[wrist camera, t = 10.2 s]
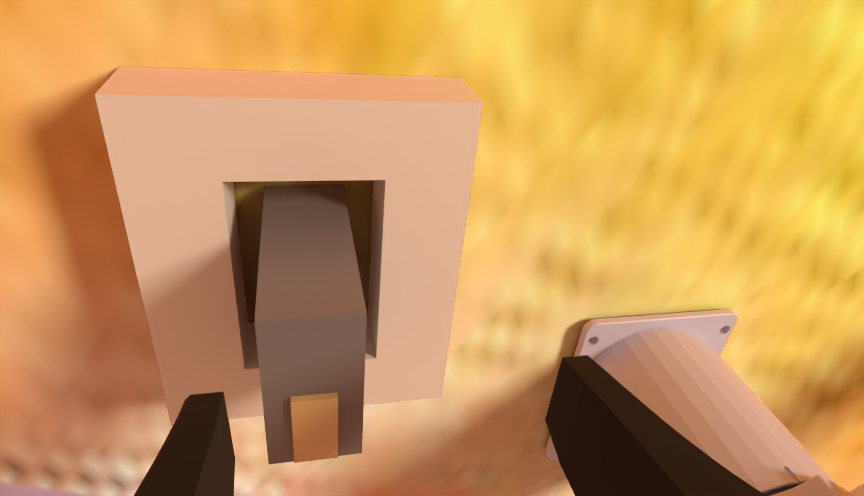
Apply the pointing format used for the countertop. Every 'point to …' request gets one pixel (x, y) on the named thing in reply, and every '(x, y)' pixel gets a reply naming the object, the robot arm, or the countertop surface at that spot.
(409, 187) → the socket block
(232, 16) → the countertop surface
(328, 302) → the key peg
